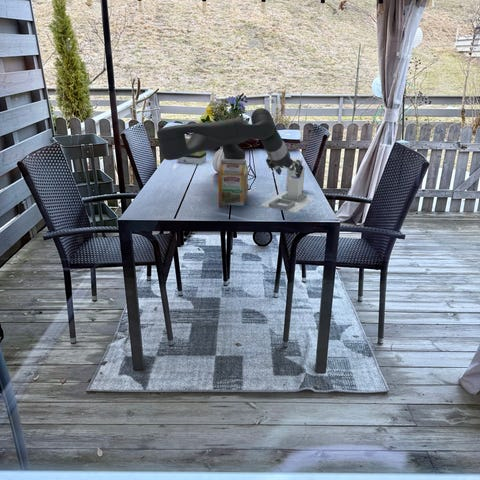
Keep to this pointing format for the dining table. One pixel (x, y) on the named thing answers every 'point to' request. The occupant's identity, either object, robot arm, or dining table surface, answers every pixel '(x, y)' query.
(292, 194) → the plug
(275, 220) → the dining table surface
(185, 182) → the dining table surface
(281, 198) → the panel
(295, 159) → the pill bottle
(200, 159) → the tea box
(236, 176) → the milk carton
